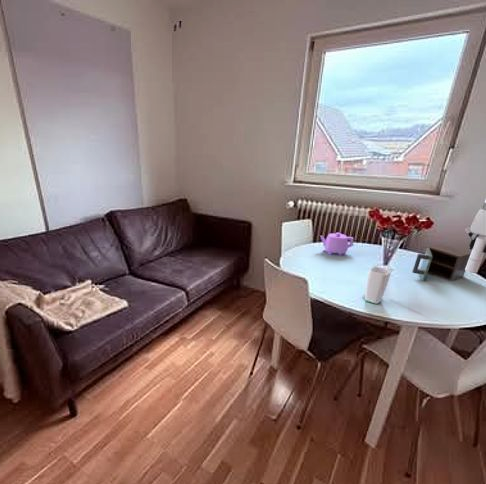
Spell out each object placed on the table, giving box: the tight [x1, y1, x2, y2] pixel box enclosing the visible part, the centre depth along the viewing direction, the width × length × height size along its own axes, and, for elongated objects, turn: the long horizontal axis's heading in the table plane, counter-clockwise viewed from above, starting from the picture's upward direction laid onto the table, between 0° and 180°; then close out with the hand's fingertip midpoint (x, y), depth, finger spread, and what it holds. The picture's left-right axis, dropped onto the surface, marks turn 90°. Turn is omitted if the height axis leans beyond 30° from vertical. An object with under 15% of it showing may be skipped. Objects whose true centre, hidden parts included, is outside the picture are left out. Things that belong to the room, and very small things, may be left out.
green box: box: [412, 247, 432, 282], centre depth 162 cm, size 6×15×14 cm, turn 153°
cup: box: [364, 266, 392, 305], centre depth 136 cm, size 7×7×15 cm
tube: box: [465, 236, 486, 274], centre depth 133 cm, size 4×4×15 cm
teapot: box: [319, 232, 354, 256], centre depth 193 cm, size 20×12×13 cm, turn 77°
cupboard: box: [427, 244, 471, 281], centre depth 163 cm, size 11×15×14 cm
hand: (478, 250), depth 132 cm, fingers closed on tube, 4 cm apart
